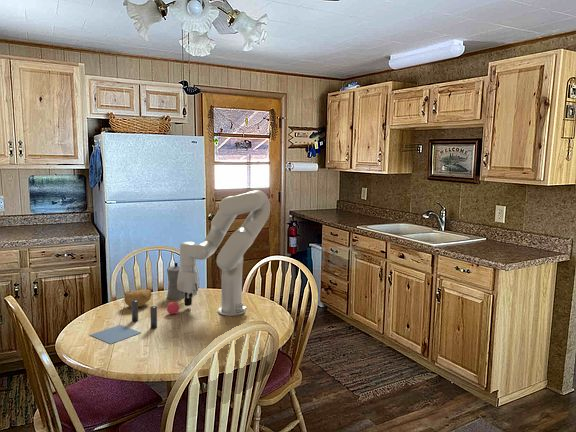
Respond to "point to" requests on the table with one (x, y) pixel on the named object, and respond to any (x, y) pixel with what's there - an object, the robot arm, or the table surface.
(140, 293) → the potato
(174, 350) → the table surface
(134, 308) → the post
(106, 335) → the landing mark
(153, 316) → the post
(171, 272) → the coffeepot
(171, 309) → the ball
